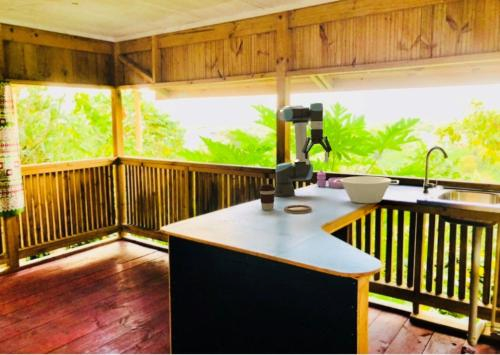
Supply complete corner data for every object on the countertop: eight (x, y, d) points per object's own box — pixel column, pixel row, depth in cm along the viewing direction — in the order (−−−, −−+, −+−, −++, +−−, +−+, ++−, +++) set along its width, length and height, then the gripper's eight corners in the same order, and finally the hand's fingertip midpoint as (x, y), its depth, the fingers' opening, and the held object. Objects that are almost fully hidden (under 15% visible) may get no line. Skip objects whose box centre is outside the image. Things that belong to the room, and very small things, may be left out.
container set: (349, 185, 325) (349, 169, 323) (346, 188, 311) (346, 171, 309) (319, 185, 335) (319, 169, 333) (314, 187, 321) (314, 171, 319)
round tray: (279, 209, 244) (279, 206, 243) (303, 206, 249) (303, 203, 249) (291, 214, 228) (291, 211, 228) (316, 211, 234) (316, 208, 234)
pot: (329, 204, 252) (329, 182, 251) (338, 195, 282) (338, 175, 280) (397, 207, 237) (397, 183, 236) (399, 197, 267) (399, 176, 265)
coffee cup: (274, 210, 240) (273, 186, 238) (258, 210, 242) (257, 186, 240) (276, 207, 250) (276, 183, 248) (261, 207, 252) (260, 183, 250)
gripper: (302, 129, 235) (302, 165, 238) (337, 127, 245) (337, 162, 248) (295, 129, 242) (296, 164, 245) (330, 127, 252) (330, 161, 254)
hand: (317, 163), depth 246 cm, fingers open, 13 cm apart
